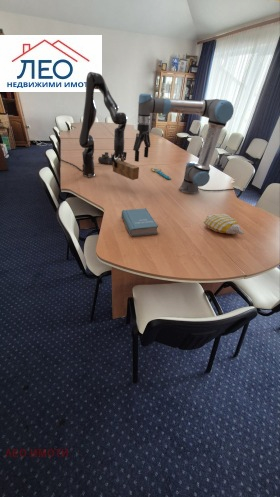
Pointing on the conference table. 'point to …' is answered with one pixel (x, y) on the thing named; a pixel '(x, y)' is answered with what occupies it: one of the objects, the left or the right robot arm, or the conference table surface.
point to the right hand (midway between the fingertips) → (141, 159)
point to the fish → (223, 224)
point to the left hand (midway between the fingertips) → (118, 166)
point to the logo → (160, 173)
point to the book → (139, 222)
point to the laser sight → (105, 159)
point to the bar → (126, 170)
